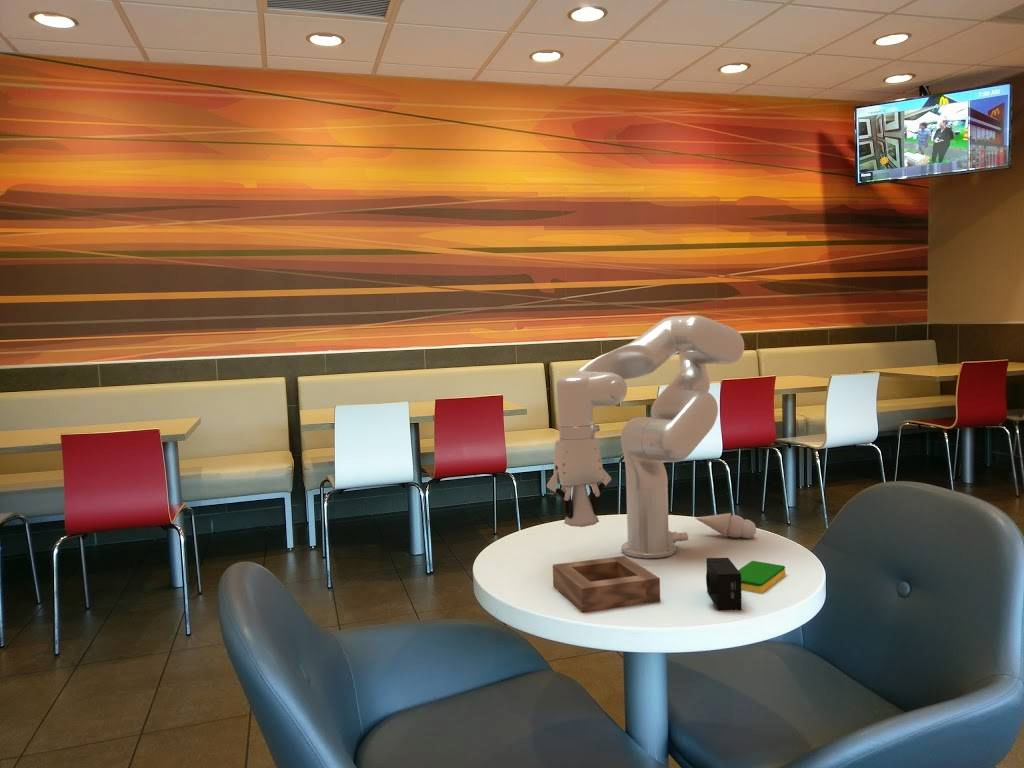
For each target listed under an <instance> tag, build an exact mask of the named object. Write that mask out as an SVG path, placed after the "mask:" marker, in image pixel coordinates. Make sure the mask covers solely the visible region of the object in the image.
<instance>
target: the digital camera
mask: <svg viewBox="0 0 1024 768" xmlns="http://www.w3.org/2000/svg"><path fill="white" fill-rule="evenodd" d="M705 560H706V574H705V582H706V592H707V594H708V596H709V597H710V598H711V599H710V600H712V603H713V604H714V605H715V607H716V609H717V611H720V612H722V611H723V612H724V611H742V607H743V604H742V603H743V602H742V590H741V573H740V572H739V571H738V570H739V569H738V568H737V567H736V566H735V564H734V563H733V562H732V561H731V559H730V558H729V557H706V558H705Z"/></svg>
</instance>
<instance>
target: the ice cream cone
mask: <svg viewBox="0 0 1024 768" xmlns="http://www.w3.org/2000/svg"><path fill="white" fill-rule="evenodd" d="M695 519H696V520H697V521H699V522H701V523H702V524H703V525H706V526H707V527H709V528H711V529H712V530H713V531H715V532H717V533H718V534H719V535H720V534H721V535H722V536H724V537H725V538H728V536H729V537H730V538H733V539H738V538H743V539H751V538H753V537H755V535H756V533H757V526H756V524H755V522H753V521H752V520H750V519H744V518H743V517H741V516H740V515H736V514H732V512H727V513H721V514H713V515H706V516H705V515H704V516H699V517H698V516H697V517H695Z"/></svg>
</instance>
